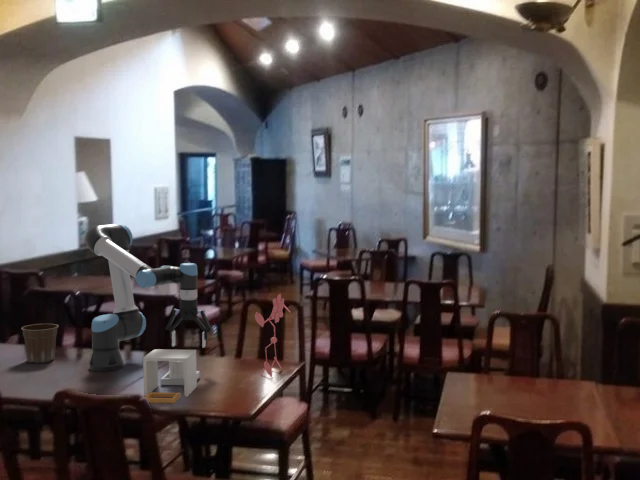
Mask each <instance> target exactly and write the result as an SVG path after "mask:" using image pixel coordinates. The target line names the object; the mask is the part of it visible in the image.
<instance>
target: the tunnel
mask: <svg viewBox="0 0 640 480" xmlns="http://www.w3.org/2000/svg"><path fill="white" fill-rule="evenodd" d="M169 361H184V385H183V387H184V389H183V390H184V397H185V398H186V397H189V396H190V395H191V393H192V392H193V391H194V390H195V389H196V388H197V387H198V382H197V381H198V379H197V371H198V370H197V349H167V348H166V349H160V348H157V349H156V348H155V349H153V350H152V351H150V352H149V353H147V354H145V356H144V357H142V366H143V396H144V397H145V396H146V395H147V394H149V393H150V392H153V391H154V390H155V389H156V388H157V387H159V369H158V367H159V365H158V364H159V363H158V362H169ZM189 394H190V395H189Z"/></svg>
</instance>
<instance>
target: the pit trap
mask: <svg viewBox="0 0 640 480" xmlns="http://www.w3.org/2000/svg"><path fill="white" fill-rule="evenodd" d="M144 397H145V398H146V399H147V400H148V401H149V402H150V403H149V404H161V403H165V405H166V404H170V405H171V404H172V405H174V404H176V403H177V402H178V400H179V399H180V398H181V392H161V391H160V392H153V391H152V392H150V393H149V394H147V395H146V396H144Z"/></svg>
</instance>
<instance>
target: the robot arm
mask: <svg viewBox="0 0 640 480" xmlns="http://www.w3.org/2000/svg"><path fill="white" fill-rule="evenodd" d="M133 238H134V235H133V233H132V231H131V229H130V228H129V227H128V226H127V225H126V224H123V223H111V224H97V225H94V226H92V227H90V229H88V230H87V232H86V234H85V240H84V241H85V244H86V247H87V248H88V249H89V250H90V251H91V252H92V253H93V254H95V255H96V256H99V257H103V258H105V259H107V260H108V261H107V262H108V266H109V267H108V268H109V274H110V281H111V286H112V292H113V293H112V294H113V299H114V305H115V308H114V310H113V312H112V313H107V314H102V315H98V316H95V317H94V318H93V319H92V320H91V321H92V322H91V328H90V329H91V330H90V331H91V343H92V344H91V345H92V346H91V347H92V353H91V356H90V358H89V362H88V370H90V371H92V372H112V371H116V370H120V369H122V368H124V365H125V364H124V358H123V356H122V353H121V351H120V342H121V341H126V340H130V339H131V340H132V339H135V338H137V337H139V336H141V335H142V334H143V333H144V331H145V330H146V327H147V319H146V317H145V315H143V313H142V312H141V311H140V310H139V307H138V306H136V305H135V298H134V293H133V292H134V291H133V287H132V280H131V276H132V277H133V278H135V282H136V284H137V285H138V287H140V288H142V289H147V288H148V289H149V288H153V287H158V286H164V285H169V284H175V285H179V298H180V300H179V309H177V308H174V309H172V313H171V316H170V318H169V320H168V323H167V324H166V326H165V330H166V331H168V332H169V339H171V347H175V346H176V330H175V328H176V327H178V325H179V324H180V323H181V321H183V320H184V321H194V322H195V323H196V324H197V325H198V327H199V328H200V329H201V330H202V331H203V332H202V333H201V338H202V340H201V341H202V342H201V343H202V344H201V346H202V348H206V346H207V345H206V342H207V340H208V338H209V337H208V335H209V332H211V331H212V330H213V328H212V326H211V323H210V322H209V320H208V319H209V318H207V316H206V311H205V309H203V308H202V309H200V310H199V309H198V274H199V272H198V265H197V263H193V262H187V263H186V262H184V263H183V262H182V263H180V264H179V266H173V265H161V266H159V267H157V268H153V267H151V266H150V265H148V264H146V263H144V262H143V261H141V260H140V259H139V258H137V256H134V255H133V254H131V253H130V246H132V245H133V244H132V242H133ZM178 314H179V315H180V316H179V318H178V319H177V320H176V322H174V320H175V318H176V316H177V315H178ZM198 314H199V316H200V317H201V319H202V321H203V322H202V321H201V319H200V318H199V316H198ZM173 322H174V323H173ZM172 324H173V325H172Z"/></svg>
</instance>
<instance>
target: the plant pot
mask: <svg viewBox="0 0 640 480" xmlns="http://www.w3.org/2000/svg"><path fill="white" fill-rule="evenodd" d="M58 328H59V324H55V323H35V324H29V325H24V326H22V327H21V329H20V330H22V337H23V339H24V345H25V347H24V348H25V354H26V355H25V356H26V361H27V362H28V363H31V364H32V363H35V364H39V363H40V364H44V363H48V362H51V361H54V360H55V359H56V358H55V355H56V344H57V342H56V341H57V340H56V339H57V334H58Z"/></svg>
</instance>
